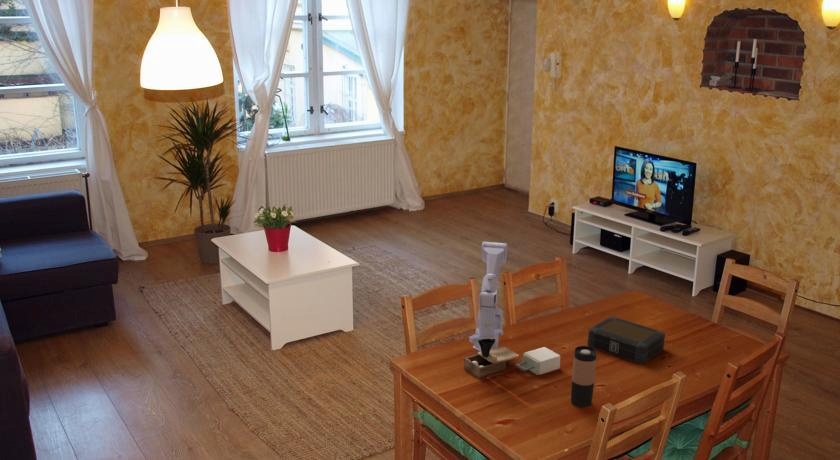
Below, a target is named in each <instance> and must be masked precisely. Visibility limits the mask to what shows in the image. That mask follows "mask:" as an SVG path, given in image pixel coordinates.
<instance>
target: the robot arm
mask: <svg viewBox="0 0 840 460" xmlns="http://www.w3.org/2000/svg"><path fill="white" fill-rule="evenodd" d="M480 255H481V259H482V262H484V263H485V264H486V275H484V276H483V278H482V284H481V290H480V291H481V292H479V295H478V307H479V309H478V312H477V318H476V319H477V320H476V329H475V332H474V334H473V335H470V336H469V337H468V342H470V343H471V344H474V345H473V346H472V348H473V349H475V350H477V352H481V351H482V356H484V357H488V355H489V352H490V350H491V349H492V348H495V347H499V336H504V329H503V324H504V323H503V322H504V316H503V315H504V312H503V310H502V309H501V308H500V307H499V306H498V293H499V292H498V291H499V275H500V268H501V266H502V265H505V264H506V263H507V257H508V243H507V242H495V241H494V242H493V241H491V242H490V241H482V243H481V252H480Z"/></svg>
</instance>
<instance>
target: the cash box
mask: <svg viewBox="0 0 840 460" xmlns="http://www.w3.org/2000/svg"><path fill="white" fill-rule="evenodd" d="M665 339H666V332H663V331H662V330H658V329H655V328H651V327H648V326H644V325H641V324H638V323H635V322H632V321H628V320H626V319H622V318H618V317H615V316H610V317H607V318H605V319H604V320H602V321H600V322H598V323H597V324H595V325H593V326H591V327H590V328H589V329H588V334H587V345H586V346H588V347H592V348H594V349H595V350H598V351H601V352H604V353H607V354H609V355H612V356H616V357H619V358H622V359H625V360H627V361H631V362H632V363H633V362H634V363H637V364H640V365H643V364H646V362H648V361H650V360H651V359H653V358H654V357H655V356H657V355H659V354H660V353H662V352H663V351H664V346H665Z"/></svg>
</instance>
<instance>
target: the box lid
mask: <svg viewBox="0 0 840 460" xmlns="http://www.w3.org/2000/svg"><path fill="white" fill-rule="evenodd" d="M477 354H478V355H480V356H481V357H483V358H485V359H486V360H487V361H488V362H489V363H491V364H496V363H500V362H503V361H506V362H507V361H509V360H513V359H516V358H520V354H518V353H516V352H515V351H512V350H511V349H509V348H507V347H505V346H504V345H500V346H499V345H498V347H495V348H492V349H491V350H490V352H489V355H488V357H484V356H482V351H481V352H480V351H477Z"/></svg>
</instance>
